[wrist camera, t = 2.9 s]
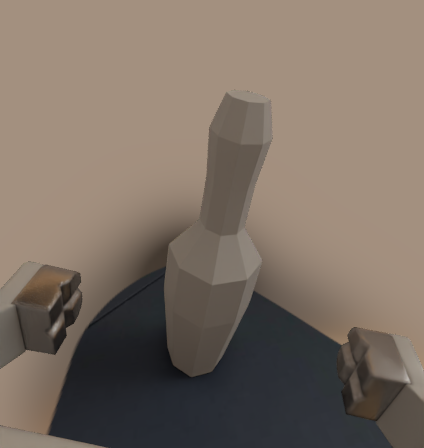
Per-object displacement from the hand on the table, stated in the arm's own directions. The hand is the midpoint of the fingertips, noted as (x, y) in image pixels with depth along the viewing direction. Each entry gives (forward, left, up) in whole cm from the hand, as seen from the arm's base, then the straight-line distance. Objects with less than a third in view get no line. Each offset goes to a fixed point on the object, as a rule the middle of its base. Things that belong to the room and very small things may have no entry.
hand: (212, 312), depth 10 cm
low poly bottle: (+1, +12, -19) cm, 22 cm away
